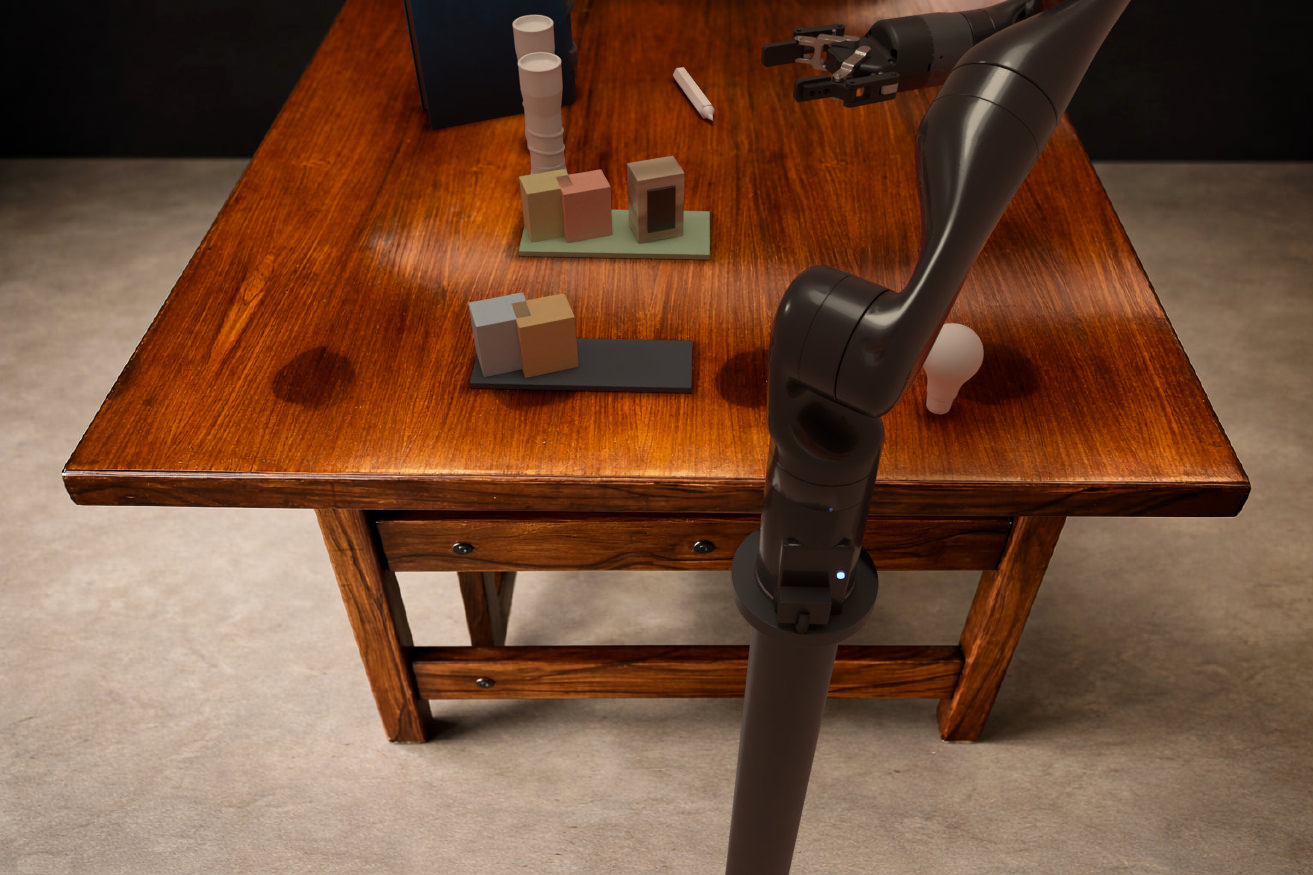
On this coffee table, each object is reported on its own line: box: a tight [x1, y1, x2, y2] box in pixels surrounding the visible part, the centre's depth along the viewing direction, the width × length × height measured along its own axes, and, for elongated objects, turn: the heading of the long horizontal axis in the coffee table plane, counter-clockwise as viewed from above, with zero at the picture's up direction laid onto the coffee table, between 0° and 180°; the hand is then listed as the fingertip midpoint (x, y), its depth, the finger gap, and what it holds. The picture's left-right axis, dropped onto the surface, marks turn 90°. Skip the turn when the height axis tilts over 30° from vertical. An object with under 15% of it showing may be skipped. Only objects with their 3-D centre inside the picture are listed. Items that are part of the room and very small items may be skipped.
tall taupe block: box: [626, 155, 685, 244], centre depth 128 cm, size 5×6×9 cm
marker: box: [672, 66, 716, 122], centre depth 157 cm, size 3×2×16 cm
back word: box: [518, 168, 711, 261], centre depth 129 cm, size 10×24×8 cm, turn 88°
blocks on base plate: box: [467, 292, 693, 394], centre depth 111 cm, size 8×24×8 cm, turn 88°
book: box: [402, 0, 579, 131], centre depth 148 cm, size 24×9×30 cm, turn 111°
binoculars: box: [512, 15, 568, 175], centre depth 138 cm, size 17×5×18 cm, turn 9°
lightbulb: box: [922, 322, 985, 415], centre depth 104 cm, size 6×6×11 cm
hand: (778, 73), depth 106 cm, fingers open, 8 cm apart
